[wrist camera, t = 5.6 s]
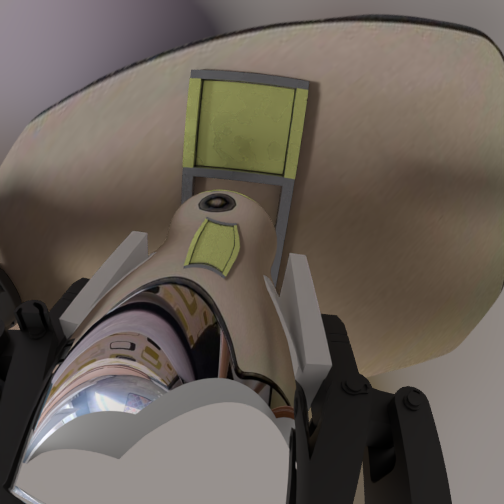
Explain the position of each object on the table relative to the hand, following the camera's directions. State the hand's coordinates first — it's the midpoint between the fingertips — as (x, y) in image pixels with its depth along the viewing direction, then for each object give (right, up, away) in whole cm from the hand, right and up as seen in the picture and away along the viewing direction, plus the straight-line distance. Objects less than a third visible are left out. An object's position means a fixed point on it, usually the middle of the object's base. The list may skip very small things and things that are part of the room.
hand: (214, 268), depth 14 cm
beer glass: (0, +1, +3) cm, 3 cm away
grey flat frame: (0, +5, +22) cm, 22 cm away
